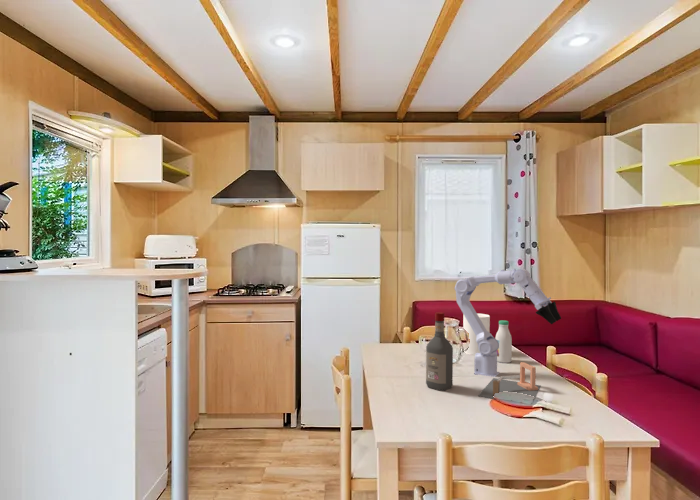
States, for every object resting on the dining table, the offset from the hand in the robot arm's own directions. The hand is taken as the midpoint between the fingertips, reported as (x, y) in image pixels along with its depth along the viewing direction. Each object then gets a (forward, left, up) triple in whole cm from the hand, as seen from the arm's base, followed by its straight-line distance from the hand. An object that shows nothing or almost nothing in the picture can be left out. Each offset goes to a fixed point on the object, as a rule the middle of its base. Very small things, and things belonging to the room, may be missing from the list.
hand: (556, 321), depth 178 cm
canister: (-43, +39, -27) cm, 64 cm away
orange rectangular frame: (-10, -8, -26) cm, 29 cm away
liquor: (-41, -25, -27) cm, 55 cm away
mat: (-15, -15, -27) cm, 34 cm away
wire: (-15, -18, -26) cm, 35 cm away
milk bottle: (-27, +29, -27) cm, 48 cm away
